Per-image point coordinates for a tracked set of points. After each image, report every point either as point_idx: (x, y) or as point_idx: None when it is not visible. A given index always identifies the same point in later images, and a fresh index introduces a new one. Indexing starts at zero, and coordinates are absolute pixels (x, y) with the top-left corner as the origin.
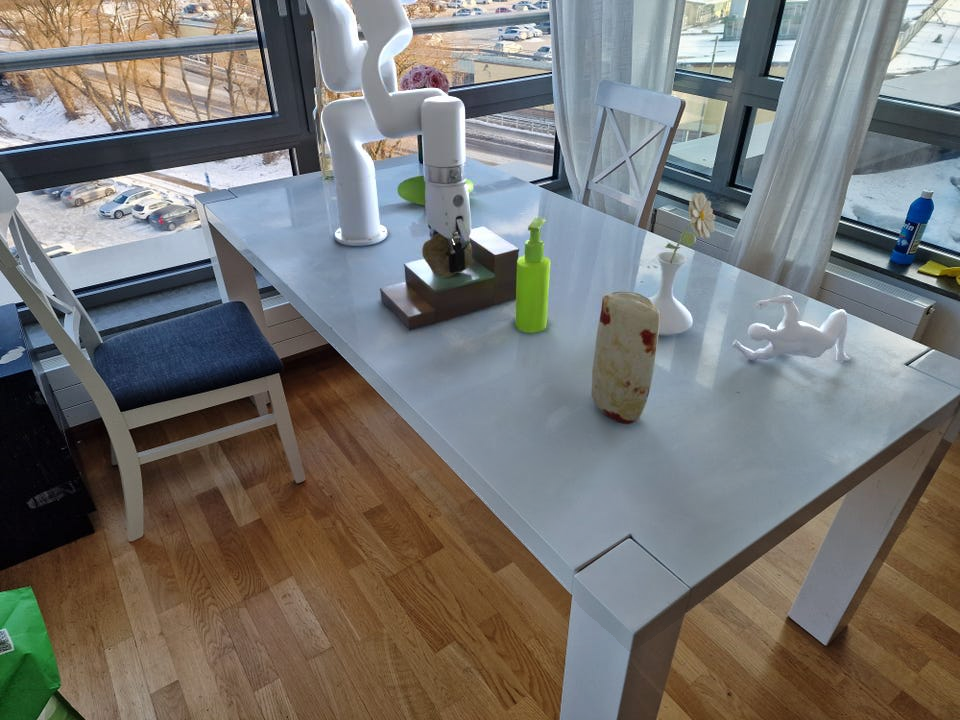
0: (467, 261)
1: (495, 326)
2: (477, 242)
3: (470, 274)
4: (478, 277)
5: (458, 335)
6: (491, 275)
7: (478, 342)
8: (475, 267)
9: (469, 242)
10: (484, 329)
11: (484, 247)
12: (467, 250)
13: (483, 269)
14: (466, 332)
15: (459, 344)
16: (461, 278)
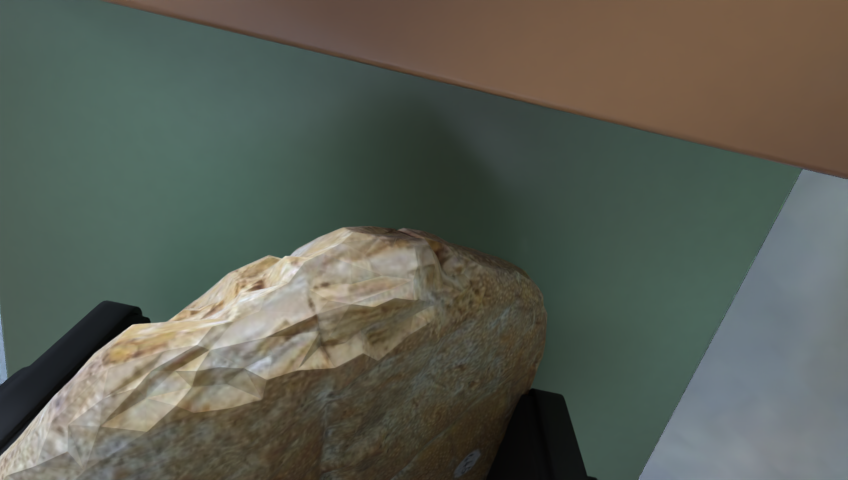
0: (527, 350)
1: (815, 252)
2: (378, 52)
3: (593, 318)
4: (705, 310)
5: (692, 429)
6: (793, 177)
7: (820, 410)
8: (515, 170)
9: (337, 262)
10: (775, 314)
11: (687, 133)
12: (444, 340)
13: (627, 143)
14: (708, 390)
15: (747, 470)
16: (582, 418)
